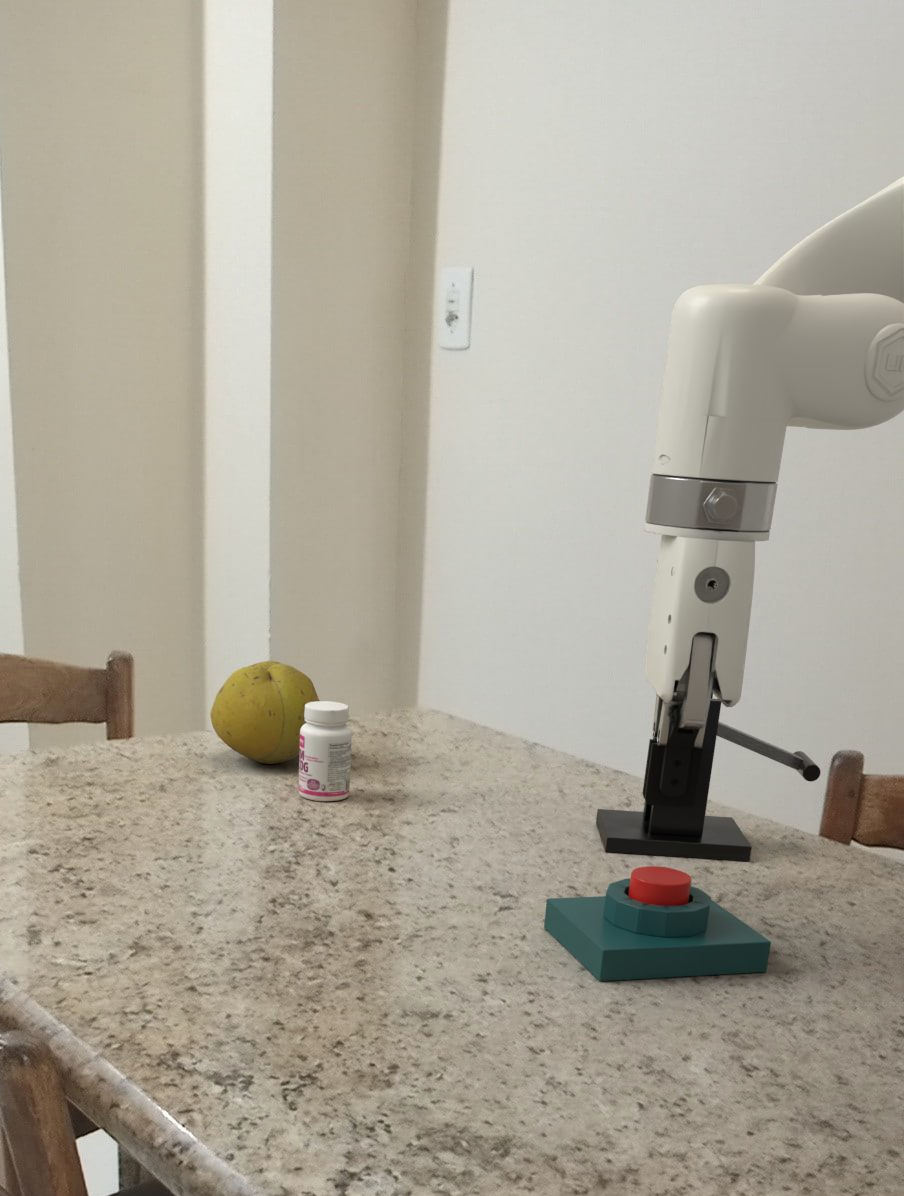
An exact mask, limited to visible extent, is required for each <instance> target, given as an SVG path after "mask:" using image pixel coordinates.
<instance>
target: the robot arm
mask: <svg viewBox="0 0 904 1196" xmlns="http://www.w3.org/2000/svg"><path fill="white" fill-rule="evenodd" d="M670 317H671V318H670V325H669V330H668V338H667V347H666V354H665V361H664V362H665V363H664V368H663V369H664V370H663V378H662V386H661V393H660V401H659V409H658V418H657V424H656V433H655V441H654V450H653V458H652V465H651V475H650V480H649V487H648V495H647V502H646V503H647V504H646V513H645V518H644V519H645V520H644V521H645V522H644V527H643V528H644V529H643V531H644V532H645V533H649V534H650V533H652V534H655V535H661V538H660V544H659V550H658V557H657V560H656V563H657V564H656V569H655V575H654V583H653V591H652V599H651V604H650V606H651V607H650V613H649V621H648V629H647V638H646V639H647V640H646V649H645V665H644V670H645V671H644V674H645V678H646V680H647V682H648V684H649V685H650V687H651V689H653V691H654V692H655V695H656V696H655V703H654V704H655V705H654V714H653V723H652V733H651V734H652V735H651V736H652V738H649V742H648V750H647V756H646V764H645V772H644V779H643V787H642V797H643V799H644V802H645V801H646V803H647V804H649V805H657V806H671V807H685V808H690V807H692V806H693V805H694V803H695V797H696V791H697V784H698V777H699V771H700V764H701V757H702V751H703V747H702V744H703V738H704V733H705V727H706V722H707V716H708V711H709V705H710V700H711V694H712V693H713V696H715V697H716V699H719V700H720V701H721V704H722V705H723V706H725V707H726V708H733V707H734V706H736V705H738V703H739V702H740V701H741V698H742V691H743V684H744V675H745V665H746V657H747V648H748V642H749V641H748V640H749V632H750V623H751V613H752V607H753V606H752V605H753V596H754V583H755V567H756V566H755V565H756V542H767V541H769V540H770V534H771V529H772V522H773V516H774V511H775V504H776V497H777V490H778V485H779V484H778V482H779V477H780V470H781V465H782V457H783V451H784V446H785V445H784V444H785V439H786V432H787V427H792V428H795V427H796V428H806V429H813V430H831V431H832V430H835V431H856V430H864V429H867V428H872V427H875V426H878V425H881V424H883V423H886V422H888V421H890V420H891V419H892V420H893V419H894V418H895V417H897V416H898V415H900V414H901V413H902V412H903V411H904V176H902V177H900V178H898V179H897V180H896V181H893V182H892V183H890V184H889V185H887V186H885V187H884V188H883V189H881V190H880V191H878V192H876V193H875V194H873V195H871V196H870V197H868V198H867V199H865V200H863V201H861V202H860V203H858V204H857V205H855V206H853V207H852V208H850V209H848V210H846V211H844V212H843V213H841V214H840V215H838V216H837V217H834V218H833V219H831V220H830V221H828V222H827V223H825V224H823V225H822V226H821V227H819V228H818V229H816V230H815V231H813V232H812V233H810V234H809V235H808V236H806V237H804V238H803V239H801V241H799V242H797V244H796V245H794V246H793V247H791V248H790V249H789V250H788V251H787V252H785V253H784V254H783V255H782V256H781V257H780V258H778V259H777V261H775V262H774V263H773V264H772V265H771V266H770V267H769V268H768V269H767V270H766V271H765V272H764V273H762V275H760V277H758V278H757V280H755V282H754V283H752V284H750V283H709V284H700V285H696V286H694V287H691V288H689V289H687V290H685V291H684V292H683V293H682V294H680V296H679V297H678V298H677V300H676V302H675V304H674V306H673V309H672V312H671V316H670ZM653 738H657V739H653Z"/></svg>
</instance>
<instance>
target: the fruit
mask: <svg viewBox="0 0 904 1196" xmlns="http://www.w3.org/2000/svg"><path fill="white" fill-rule="evenodd" d="M315 701H320V698H319V696H318V693H317V690H316V687H315V685H314V683H313V681H312V679H311V678H310V677H309V676H307V675H306V674H305V673H303V672H302V671H301V670H298V669H297V668H295V667H293V666H292V665H289V664H286V663H281V662H279V661H275V660H265V661H261V662H256V663H253V664H252V665H248V666H244V667H241V668H238V669H237V670H235V671H234V672H233V673H231V674H230V675H229V677H228V678H227V679H226V681H224V683H223V684H222V686H221V687H220V689H219V690H218V692H217V693H216V695H215V698H214V701H213V704H212V707H211V709H210V721H211V725H212V728H213V730H214V732H215V733H216V735H217V736H218V738H220V740H221V741H222V742H223V743H224V744H225V745H226V746H227V747H229V748H230V749H232V750H233V751H234V752H236V753H238V754H240V755H241V756H243V757H245V758H247V759H249V760H251V761H253V762H258V763H260V764H264V765H265V764H266V765H267V764H268V765H273V764H274V765H275V764H280V763H285V762H288V761H290V760H293V759H294V758H295V757H297V756H299V752H300V729H301V727H302V726H303V725H304V724H306V723H307V722H306V721H305V720H304V719H305V717H304V713H305V705H306V704H307V703H309V702H315Z"/></svg>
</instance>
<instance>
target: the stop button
mask: <svg viewBox="0 0 904 1196" xmlns="http://www.w3.org/2000/svg"><path fill="white" fill-rule="evenodd" d="M630 878H631V879H630ZM630 878H629V879H630V887H629V895H628V896H629V897H630V898H631V899H634V900H637V901H640V902H643V903H646V904H653V905H660V906H680V905H685V904H688V901H689V894H690V887H691V886H692V877H691V876H690V874H688V873H686V872H684V871H682V870H679V869H675V868H671V867H665V866H656V865H654V866H653V865H652V866H641V867H637V868H634V869H632V871H631V872H630Z"/></svg>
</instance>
